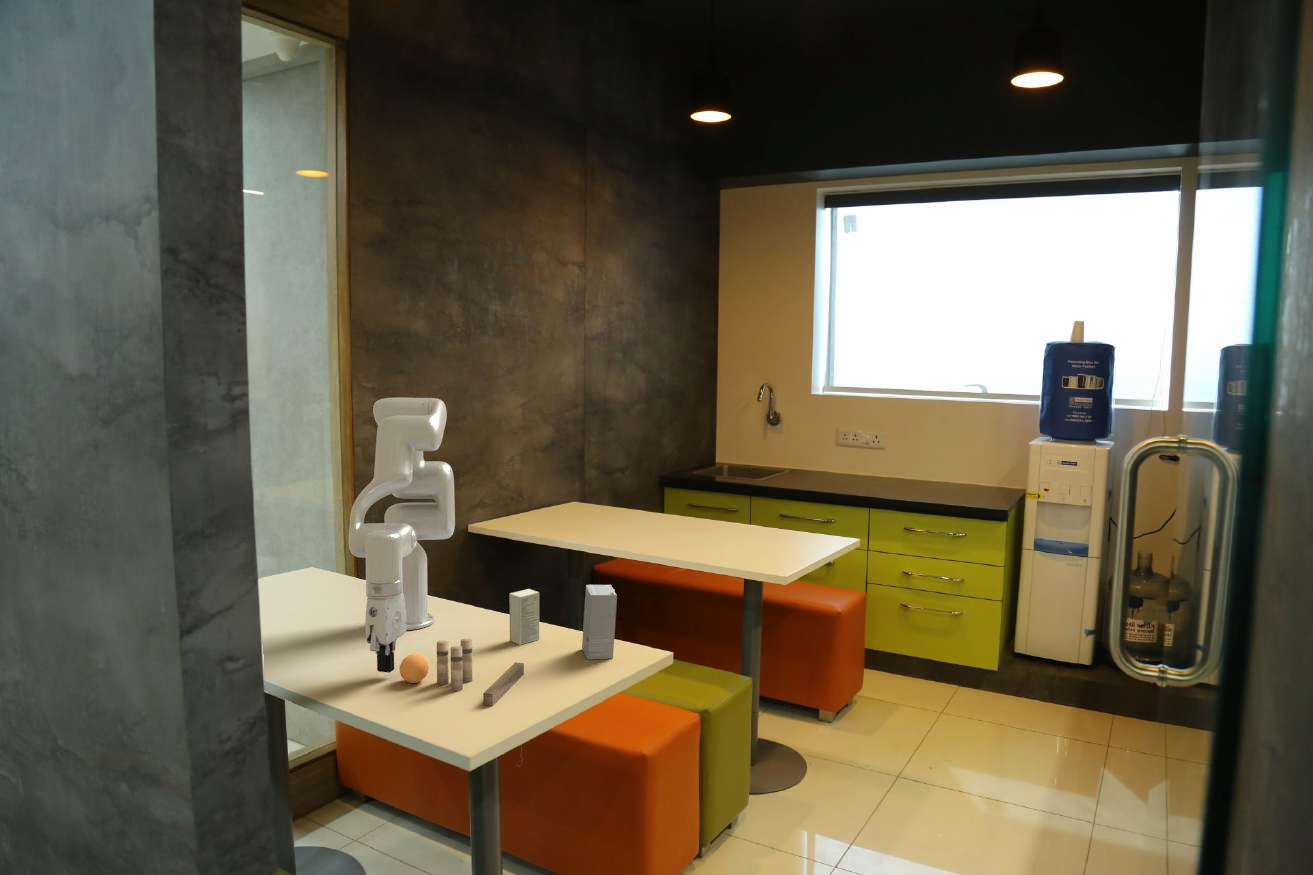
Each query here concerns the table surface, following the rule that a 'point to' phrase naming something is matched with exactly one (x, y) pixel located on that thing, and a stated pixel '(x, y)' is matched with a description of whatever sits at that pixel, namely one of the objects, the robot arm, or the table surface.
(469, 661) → the back pin left
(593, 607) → the skincare box
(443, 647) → the front pin
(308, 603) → the table surface
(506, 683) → the back wall
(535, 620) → the skincare box
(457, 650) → the back pin right
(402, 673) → the ball
